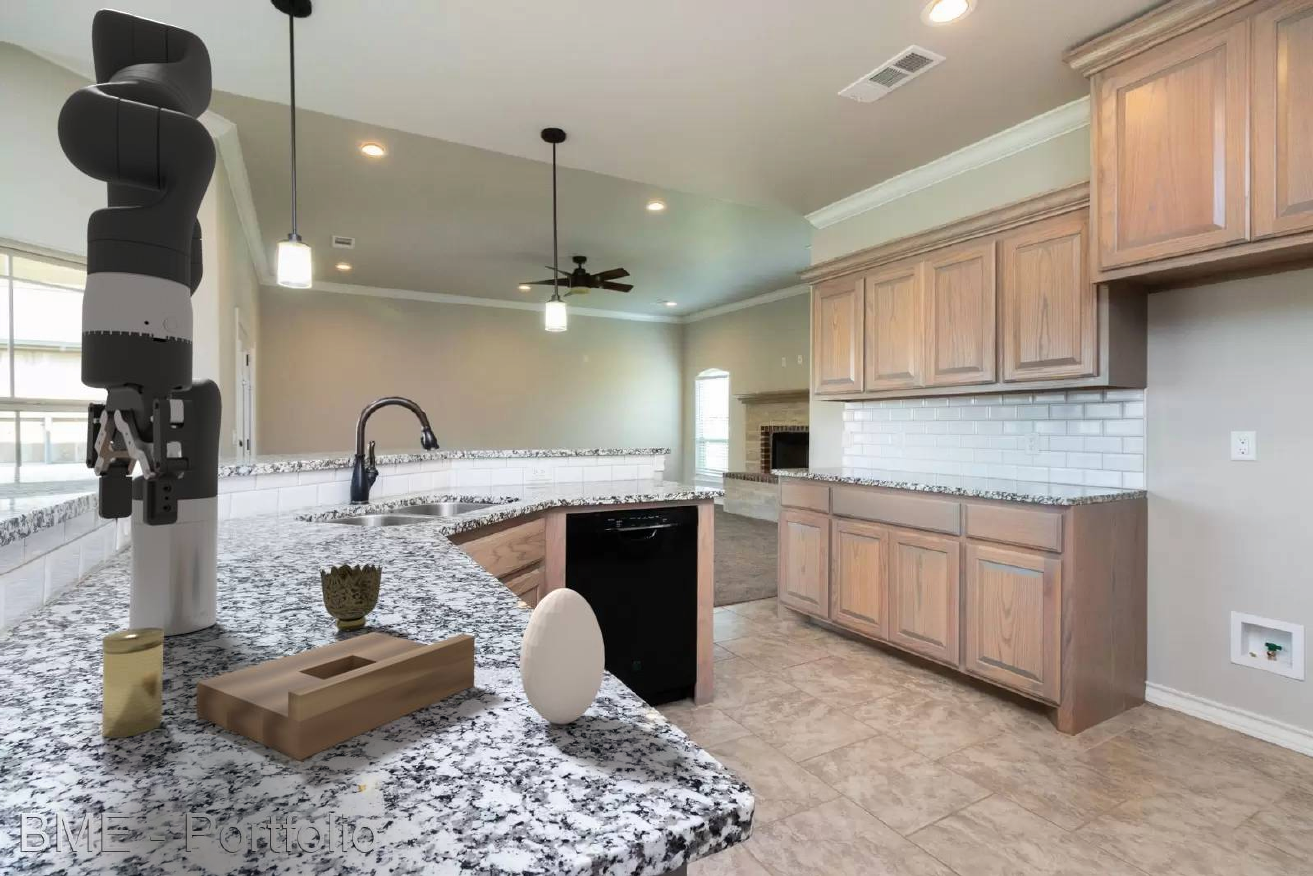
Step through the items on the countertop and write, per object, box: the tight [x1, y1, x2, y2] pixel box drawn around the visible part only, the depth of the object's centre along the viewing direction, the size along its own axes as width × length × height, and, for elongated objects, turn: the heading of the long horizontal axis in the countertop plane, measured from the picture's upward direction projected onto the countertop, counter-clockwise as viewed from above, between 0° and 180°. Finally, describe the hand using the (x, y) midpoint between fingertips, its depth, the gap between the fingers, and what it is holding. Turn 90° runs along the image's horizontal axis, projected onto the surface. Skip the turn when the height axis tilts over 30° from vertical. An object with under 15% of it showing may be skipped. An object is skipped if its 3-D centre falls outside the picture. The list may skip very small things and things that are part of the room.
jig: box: [196, 631, 476, 761], centre depth 61 cm, size 16×18×5 cm
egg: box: [519, 587, 606, 725], centre depth 57 cm, size 7×7×12 cm
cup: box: [319, 563, 383, 632], centre depth 85 cm, size 8×7×8 cm
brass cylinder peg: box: [101, 628, 165, 739], centre depth 55 cm, size 4×4×8 cm
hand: (137, 521), depth 56 cm, fingers open, 8 cm apart
